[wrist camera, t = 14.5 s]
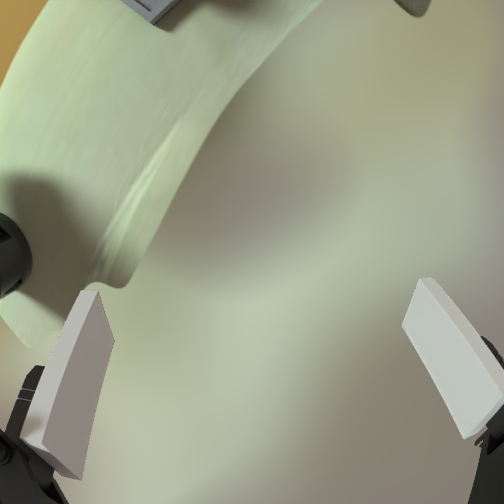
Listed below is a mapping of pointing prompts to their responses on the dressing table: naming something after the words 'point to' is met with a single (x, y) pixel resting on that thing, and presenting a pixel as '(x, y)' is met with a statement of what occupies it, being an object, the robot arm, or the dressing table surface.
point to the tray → (151, 8)
